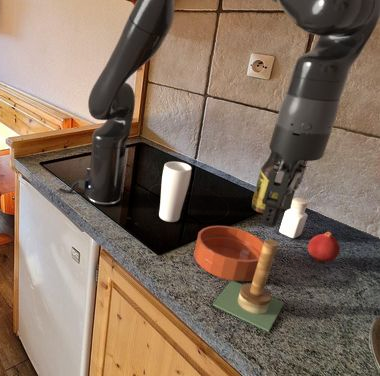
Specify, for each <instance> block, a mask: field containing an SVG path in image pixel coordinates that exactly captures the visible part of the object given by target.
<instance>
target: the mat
mask: <svg viewBox="0 0 380 376" xmlns="http://www.w3.org/2000/svg"><path fill="white" fill-rule="evenodd" d="M243 285H244V284H242V283H240V282H238V281H233V280H231V281H230V282H229V283H228V284H227V285H226V287H224V289H223V290H222V291H221V293H220V294H219V296H218V297H217V298H216V299H215V301H214V302H213V303H212V306H213V307H215V308H217V309H219V310H221V311H223V312H225V313H228V314H230V315H232V316H234V317H236V318H238V319H240V320H242V321H244V322H247V323H248V324H250V325H253V326H254V327H257V328H258V329H261V330H263V331H265V332H268V333H269V332H270V331H271V329H272V327H273V325H274V323H275V321H276V319H277V318H278V316H279V314H280V312H281V310H282V309H283V307H284V305H285V302H283V301H282V300H280V299H277V298H275V297H272V296H271V300H270V303H269V307H268V310H267V311H266V312H265V313H263V314H255V313H251V312H248V311H246V310H245V309H243V308H242V307H241V306H240V305H239V303H238V297H239V294H240V290H241V287H242V286H243Z"/></svg>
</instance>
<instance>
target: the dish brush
mask: <svg viewBox="0 0 380 376" xmlns="http://www.w3.org/2000/svg"><path fill="white" fill-rule="evenodd" d="M278 248H279V243H278V242H277V241H276V240H274V239H270V238H266V239H264V244H263V247H262V251H261V254H260V257H259V261H258V264H257V268H256V271H255V274H254V278H253V280H251V281H252V282H251V283H245V284H242V285H243V286H242V287H241V290H240V294H239V297H238V303H239V305H240V306H241V307H242V308H243V309H245V310H246V311H248V312H251V313H255V314H263V313H265V312H266V311H267V310H268V307H269V303H270V300H271V297H272V294H271V292H270V291H269V290H268V289H267V288H266V285H267V282H268V278H269V275H270V272H271V269H272V266H273V263H274V259H275V256H276V254H277V250H278Z"/></svg>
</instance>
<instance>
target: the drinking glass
mask: <svg viewBox="0 0 380 376" xmlns="http://www.w3.org/2000/svg"><path fill="white" fill-rule="evenodd" d="M191 176H192V166H191V165H189V164H188V163H185V162H182V161H168V162H165V163H164V166H163V170H162V176H161V184H160V185H161V186H160V187H161V188H160V203H159V211H158V216H159V218H160V219H161V220H162V221H164V222H168V223H175V222H178V221H179V220H180V218H181V213H182V210H183V206H184V203H185V199H186V195H187V192H188V189H189V186H190V181H191Z"/></svg>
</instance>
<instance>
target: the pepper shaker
mask: <svg viewBox="0 0 380 376" xmlns="http://www.w3.org/2000/svg"><path fill="white" fill-rule="evenodd" d="M308 204H309V201H308V200H306V199H304V198H301V197H293V199H292V202H291V205H290V208H289V209H287V210H285V211H284V214H283V217H282V220H281V224H280V226H279V230H278V232H279V233H280V234H281V235H284V236H286V237H288V238H291V239H295V238H298V237H300V236H301V235H302V233H303V230H304V228H305V225H306V221H307V218H308V216H309V215H308V214H307V212H305V211H306V210H307V207H308Z"/></svg>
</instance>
